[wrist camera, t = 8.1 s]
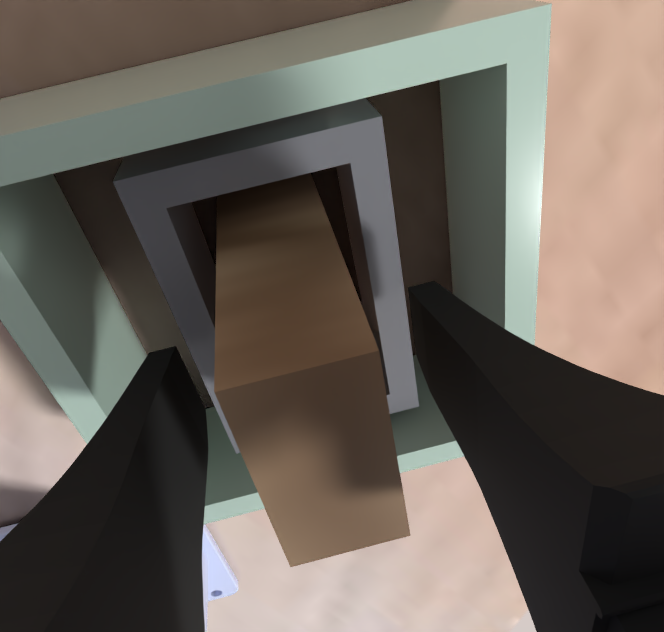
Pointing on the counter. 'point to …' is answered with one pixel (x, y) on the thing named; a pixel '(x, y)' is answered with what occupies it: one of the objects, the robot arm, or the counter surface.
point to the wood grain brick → (302, 375)
